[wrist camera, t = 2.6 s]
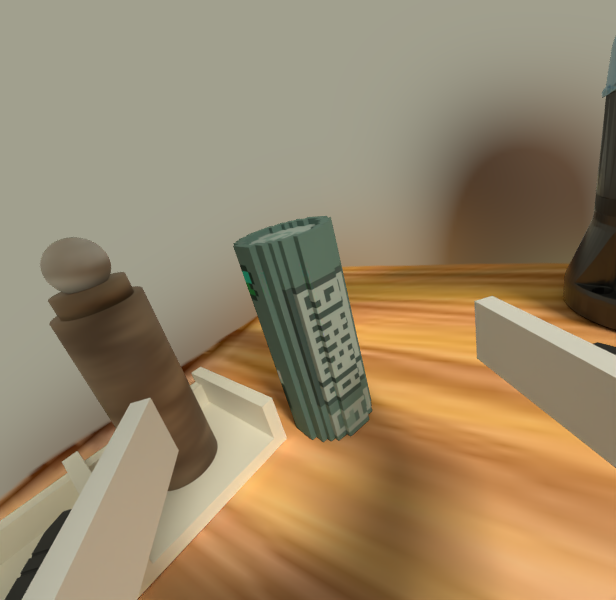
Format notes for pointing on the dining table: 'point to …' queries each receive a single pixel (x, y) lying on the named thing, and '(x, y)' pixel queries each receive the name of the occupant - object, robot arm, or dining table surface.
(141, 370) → the pepper mill
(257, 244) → the can
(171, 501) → the caddy
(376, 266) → the dining table surface
